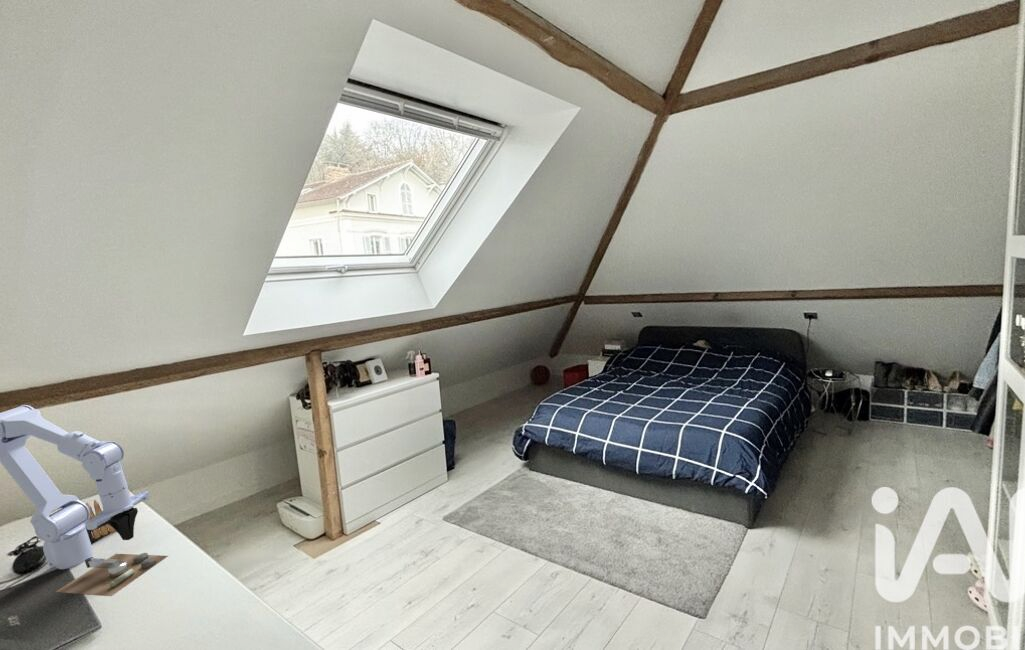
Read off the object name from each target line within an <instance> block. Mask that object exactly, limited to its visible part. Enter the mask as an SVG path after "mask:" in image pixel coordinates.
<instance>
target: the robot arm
mask: <svg viewBox="0 0 1025 650" xmlns="http://www.w3.org/2000/svg"><path fill="white" fill-rule="evenodd" d="M31 436H32V437H34V438H37V439H39V440H43V441H44V442H48V443H51V444H53V445H55V446H56V447H57V451H58V452H59V453H61V454H64V455H65V456H67V457H70V458H72V459H74V460H77V461H79V462H81V466H82V468H83V469H84V470H85V471H86V472H88V474H89V477H90V478H91V480H94V483H95V487H96V489H97V493H98V496H99V501H100V503H101V506H102V512H100V513H99V514H98V515H95V517H94V518H92V519H91V520H89V521H87V520H88V519H89V518H90V509H89V507H88V506H87V505H86V503H84V502H83V501H81V500H80V499H79V498H78V497H77V495H73V494H63V493H62V492H61V491H60V489H58V487H57V486H56V484H55V483H54V482H53V480H52V479H51V477H50V476H48V474H47V473H46V472H45V470H44V469H43V467H42V466H41V465H40V463H38V461H37V460H36V459H35V457H34V456H33V455H32V453H31V452H30V451H29V450H28V448H27V447H26V442H27V440H28V439H29V438H30V437H31ZM124 456H125V451H124V449H123V447H122V446H121V445H120V444H119V443H118V442H116V441H114V440H108V441H104V440H103V441H101V440H98V439H95V438H93V437H91V436H89V435H87V434H85V433H84V432H82V431H78V430H75V431H71V432H69V431H66V430H64V428H61V427H60V426H58V425H55V424H54V423H52V422H50V421H48V420H47V419H45V418H43V417H42V413H41V411H40V410H39V409H36V408H34V407H32V406H31V405H30V404H29V405H27V404H22V405H19V406H17V407H13V408H11V409H9V410H5V411H2V412H0V465H2V466H3V468H4V469H5V470H6V471H7V473H8V474H9V475H10V476H11V478H12V479H13V480H14V481H15V482H16V484H17V485H18V487H19V488H20V489H21V490H22V492H23V493H24V494H25V496H26V497H27V498H28V500H29V501H30V502H31V503H32V504H33V506H34V507H35V511H34V513H33V515H32V516H31V519H30V520H29V522H30V524H31V525H32V527H33V529H34V533H35V535H36V537H37V538H38V539H39V540H41V541H42V542H44V543H43V547H42V550H43V553H44V557H45V559H46V562H47V565H48V569H47V570H45V572H48V571H49V570H50V569H53V568H57V569H59V570H66V569H71V568H73V567H76V566H79V565H81V564H82V563H85V560H86V559H88V558H90V557H93V556H94V554H95V552H94V549H93V547H92V545H91V542H90V539H89V536H88V533H87V530H94V529H96V528H97V526H99V525H101V524H102V523H104V522H105V523H107V524H109V525H110V526H111V527H113V528H114V529H115V530H116V533H117V534H118V535H119V536H120V538H121V539H122V541H129V540H131V539H134V535H135V534H134V533H135V522H136V517H137V515H138V513H139V510H138V508H137V507H134V506H136V505H138V504H140V503H142V502H143V501H146V500H149V499H150V498H151V496H150V494H149V490H148V491H141V492H138V494H134V495H132V496H131V492H130V489H129V486H128V483H127V479H126V477H125V474H124V473H125V472H124V471H123V467H122V463H121V461H122V460H123V459H124ZM103 509H104V510H103ZM56 510H57V511H56ZM53 512H54V513H53ZM51 513H52V514H51ZM85 526H86V527H87V530H86V527H85Z"/></svg>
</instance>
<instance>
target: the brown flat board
mask: <svg viewBox="0 0 1025 650" xmlns="http://www.w3.org/2000/svg"><path fill="white" fill-rule="evenodd" d="M167 557H169V555H155V554H148V552H143V553H140V554H134V553H133V554H131V553H130V554H129V553H115V554H113V555H112V556H109V557H108V558H107V559H118V561H119V562H120V561H127V564H128V568H129V570H128V571H127V572H125V573H124V574H122V575H121V576H119V577H116V578H111V577H110V574H109V571H108V568H93V567H91V569H90V570H88V571H86V572H84V573H83V574H82V575H80V576H78V577H76V578H75V579H74V580H72V581H71V582H69V583H67V584H65V585H64V586H63V587H61V588H59V589H58V590H56V591H55V593H64V594H76V595H87V596H89V595H91V596H104V597H112V596H114V595H115V594H117V593H118V592H119V591H121V590H123V588H126V587H127V586H128V585H129V584H131V583H132V582H134V581H135V580H136V579H138V578H140V577H141V576H142V575H144V574H145V573H146V572H147V571H149V570H151V569H152V568H154V567H155V566H157V564H159V563H160V562H162V561H163V560H165V559H166V558H167Z"/></svg>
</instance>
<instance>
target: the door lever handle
mask: <svg viewBox="0 0 1025 650" xmlns="http://www.w3.org/2000/svg"><path fill="white" fill-rule="evenodd" d="M84 564H85V566H86V568H87V569H89V568H108V571H109V574H110V577H111V578H116V577H119V576H121V575H122V574H124V573H125V572H127V571H128V570H129V568H128V564H127V561H120V562H119V561H118V559H108V558H94V557H93V556H92V557H90V558H88V559H86V560H85V561H84Z"/></svg>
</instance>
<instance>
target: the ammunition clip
mask: <svg viewBox="0 0 1025 650" xmlns="http://www.w3.org/2000/svg"><path fill="white" fill-rule="evenodd" d="M85 504H86V505H87V506H88V507H89V509H90V518H89V519H88V520H87V521H89V520H91V519H92V518H94V517H95V516H96V515H98V514H99V513H100V512H102V511H103V510H104V509H103V508H101V506H100V503H99V502H98V501H97V499H94V500H93V509H94V511H93V509H92V506H91V505H90V503H88V502H86V503H85ZM85 527H86V526H85ZM86 530H87V527H86ZM115 531H116V530H115V529H114V528H113V527H111V526H110V525H109V524H107V523H105V522H104V523H102V524H101V525H99V526H97V528H96V529H94V530H87V533H88V536H89V539H90V542H91V546H92V545H93V544H95V543H97V542H99V541H100V540H102V539H104V538H105V537H107V536H109V535H111V534H112V533H114V532H115ZM116 532H117V531H116Z"/></svg>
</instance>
